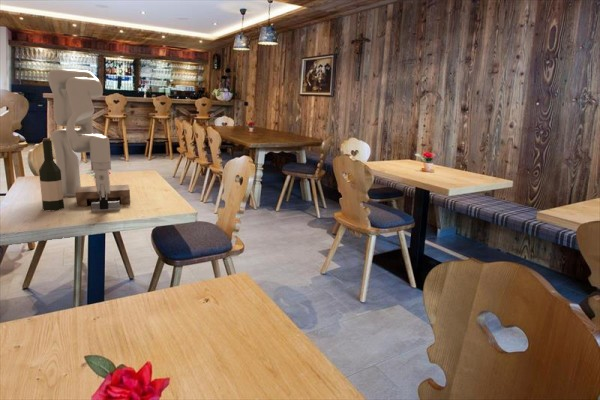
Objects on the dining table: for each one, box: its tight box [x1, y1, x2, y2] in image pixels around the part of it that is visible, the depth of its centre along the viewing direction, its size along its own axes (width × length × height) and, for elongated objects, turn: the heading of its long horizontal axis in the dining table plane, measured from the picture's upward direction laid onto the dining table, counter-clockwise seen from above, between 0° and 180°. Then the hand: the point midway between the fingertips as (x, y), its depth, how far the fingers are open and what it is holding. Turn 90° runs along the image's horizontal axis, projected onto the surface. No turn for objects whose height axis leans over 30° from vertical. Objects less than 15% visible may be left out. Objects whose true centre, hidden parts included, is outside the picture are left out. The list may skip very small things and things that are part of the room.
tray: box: [90, 199, 121, 213], centre depth 195 cm, size 11×16×4 cm
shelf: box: [75, 184, 131, 208], centre depth 202 cm, size 22×12×6 cm, turn 114°
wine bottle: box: [38, 137, 65, 211], centre depth 186 cm, size 8×8×30 cm
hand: (104, 208), depth 186 cm, fingers closed
